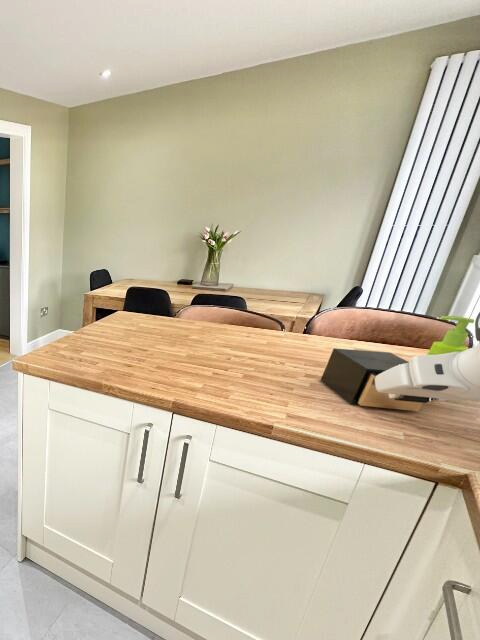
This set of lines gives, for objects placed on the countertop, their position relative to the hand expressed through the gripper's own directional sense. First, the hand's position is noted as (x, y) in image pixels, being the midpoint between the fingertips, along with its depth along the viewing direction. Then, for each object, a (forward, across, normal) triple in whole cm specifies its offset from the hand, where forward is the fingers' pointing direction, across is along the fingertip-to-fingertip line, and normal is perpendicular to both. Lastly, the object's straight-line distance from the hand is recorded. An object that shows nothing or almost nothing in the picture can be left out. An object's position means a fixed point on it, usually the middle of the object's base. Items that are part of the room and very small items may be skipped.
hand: (410, 397), depth 89 cm
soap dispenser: (+18, -16, -9) cm, 26 cm away
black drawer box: (+14, 0, -5) cm, 15 cm away
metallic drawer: (+9, 0, -2) cm, 10 cm away
